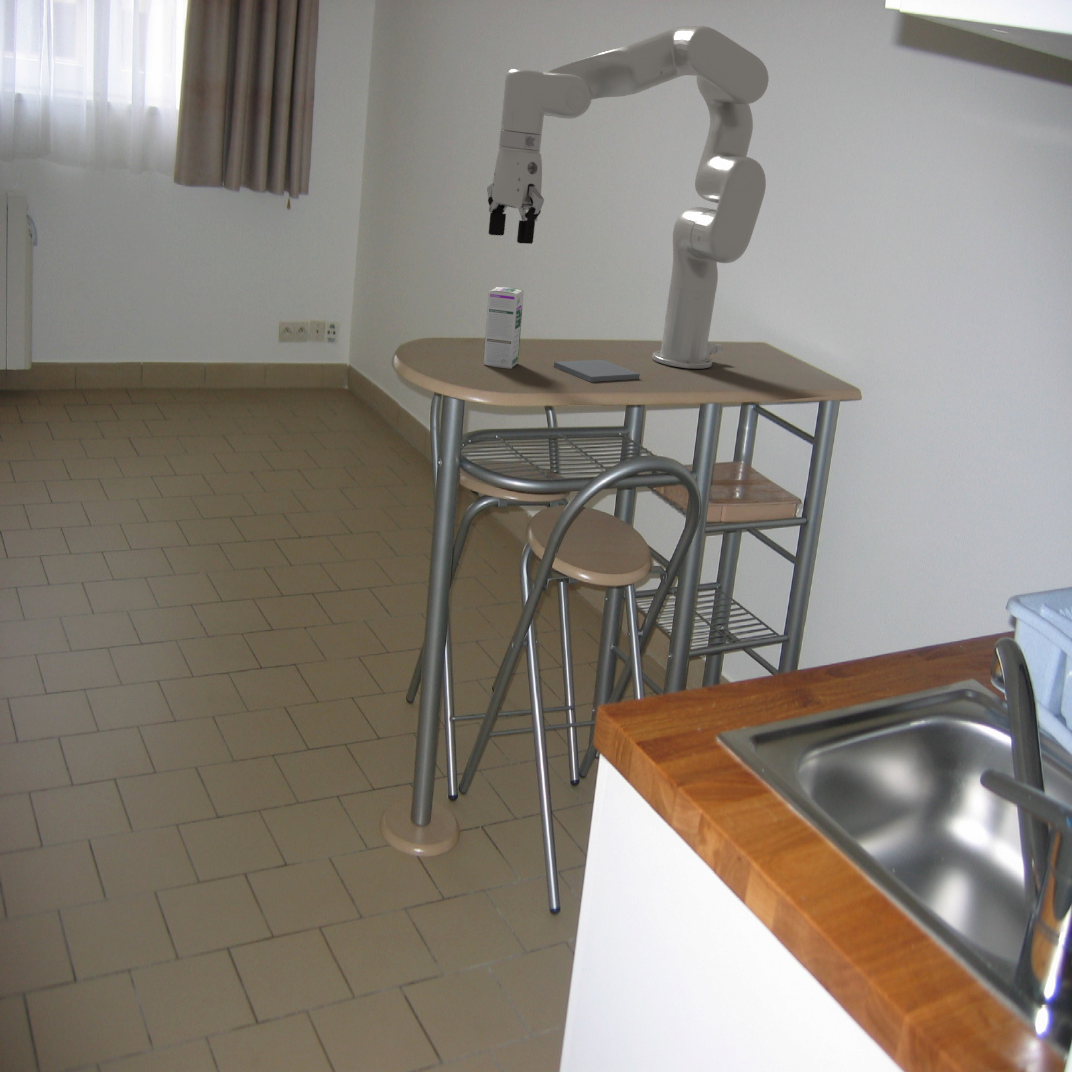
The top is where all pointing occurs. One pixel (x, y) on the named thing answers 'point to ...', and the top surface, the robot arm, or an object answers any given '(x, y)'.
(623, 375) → the grey square plate
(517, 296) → the syrup box
